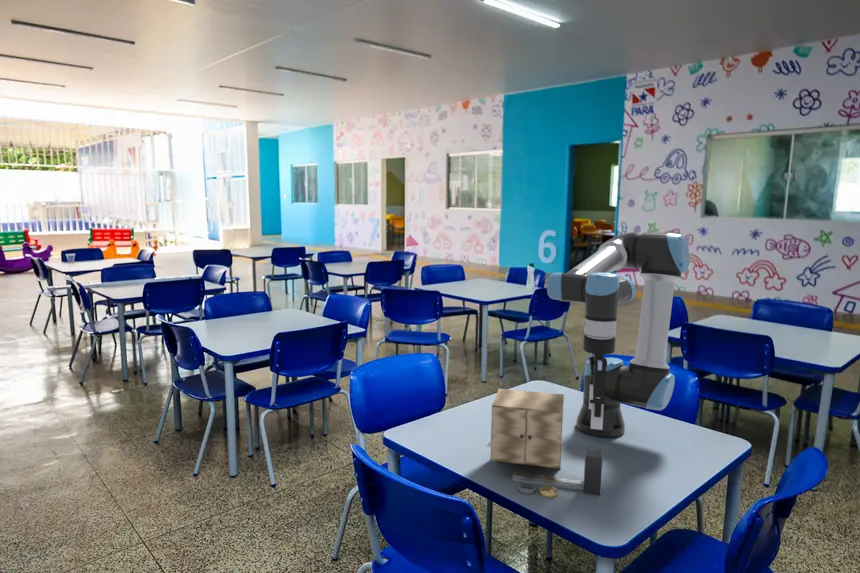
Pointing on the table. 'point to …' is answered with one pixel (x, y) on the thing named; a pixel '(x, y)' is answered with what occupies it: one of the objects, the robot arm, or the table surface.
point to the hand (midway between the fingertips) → (595, 418)
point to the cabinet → (527, 428)
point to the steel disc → (526, 488)
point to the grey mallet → (588, 485)
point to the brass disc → (548, 491)
